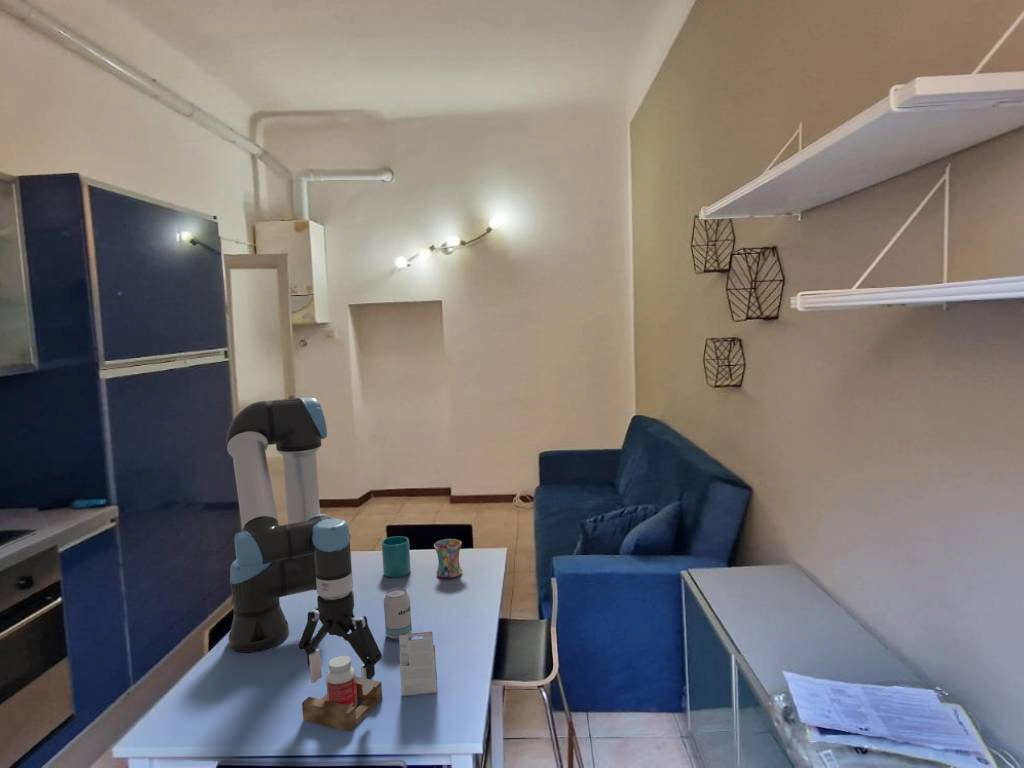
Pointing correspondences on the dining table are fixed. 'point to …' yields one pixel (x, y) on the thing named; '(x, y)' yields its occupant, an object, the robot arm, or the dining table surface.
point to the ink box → (417, 664)
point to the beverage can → (397, 613)
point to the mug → (448, 557)
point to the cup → (396, 556)
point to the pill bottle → (341, 682)
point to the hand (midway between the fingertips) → (341, 685)
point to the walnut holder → (342, 708)
